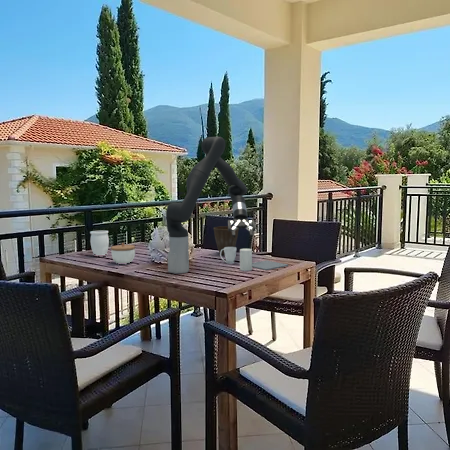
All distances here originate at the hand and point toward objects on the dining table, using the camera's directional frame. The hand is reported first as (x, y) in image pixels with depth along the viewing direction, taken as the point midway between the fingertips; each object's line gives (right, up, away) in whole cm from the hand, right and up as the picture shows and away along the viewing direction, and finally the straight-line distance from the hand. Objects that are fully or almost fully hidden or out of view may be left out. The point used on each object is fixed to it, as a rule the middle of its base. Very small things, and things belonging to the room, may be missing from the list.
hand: (242, 236), depth 217 cm
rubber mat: (+12, -15, -1) cm, 19 cm away
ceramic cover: (+1, -16, -10) cm, 19 cm away
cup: (-8, -14, +9) cm, 18 cm away
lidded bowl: (-64, -15, +10) cm, 66 cm away
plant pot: (-8, -12, +34) cm, 37 cm away
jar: (-83, -13, +32) cm, 89 cm away
